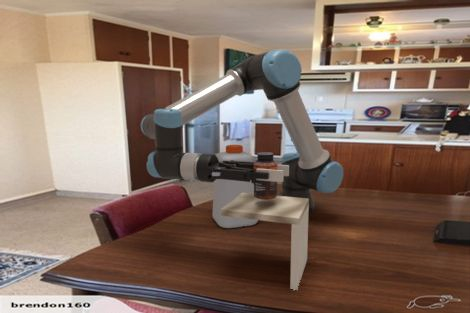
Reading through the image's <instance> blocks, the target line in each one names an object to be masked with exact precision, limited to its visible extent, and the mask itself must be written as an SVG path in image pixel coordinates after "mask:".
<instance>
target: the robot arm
mask: <svg viewBox="0 0 470 313" xmlns="http://www.w3.org/2000/svg"><path fill="white" fill-rule="evenodd" d="M301 77H302V64H301V61H300V60H299V58H298V57H297V55H295V53H293V52H292V51H290V50H287V49H272V50H270V51H265V52H263V53H259V54H255V55H251V56H249V57H248V58H247V59H245V60H243V61H242V62H240V63H239V64H237V65H234V66H233V67H232V68H230V69H228V70H227V71H226V72H225V75H223V76H222V77H219V78H218V79H216V80H213V81H212V82H210V83H208V84H207V85H205V86H203V87H201V88H199V89H198V90H196V91H193V92H192V93H190V94H188V95H187V96H183V97H182V98H181V99H178V100H176V101H175V102H173V103H171V104H170V105H168V106H165V107H164V108H158V109H155V110H154V111H153V113H151V114H147V115H145V116H144V117H143V118H142V119H141V121H140V130H141V132H142V133H143V135H145V137H147V138H148V139H151V140H154V143H155V150H153V151H151V152H150V153H149V155H148V156H147V161H146V170H147V172H148V174H149V175H150V176H152V177H153V178H158V179H159V178H161V179H164V180H167V179H168V180H180V181H182V180H183V181H189V182H190V183H194V181H195V182H199V181H200V182H201V183H202V182H203V183H214V181H215V180H216V179H225V180H235V181H245V182H250V181H251V183H255V178H256V180H261V181H274V182H277V183H281V190H280V193H279V195H278V196H286V197H297V198H307V199H309V212H308V214H309V213H312V212H314V210H315V201H314V197H313V195H312V191H311V190H314V191H316V192H318V193H324V194H330V193H331V194H332V193H333V192H335V191H336V190H338V188H339V187H340V185H341V184H342V181H343V179H344V168H343V166H342V164H340V162H337V161H333V159H332V157H331V154H330V152H329V151H328V150H327V149H324V148H323V146H322V144H321V142H320V139H319V137H318V135H317V133H316V130H315V127H314V125H313V122H312V120H311V118H310V116H309V113H308V111H307V109H306V106H305V103H304V101H303V98H302V97H301V95H300V92H299V90H300V87H301V82H300V80H301ZM261 90H262V91H263V93H264V94H265V97H266V99H267V100H268V101H270V102H273V103H274V105H275V107H276V110H277V111H278V113H279V116H280V118H281V120H282V123H283V125H284V127H285V129H286V131H287V133H288V136H289V138H290V141H291V142H292V144H293V146H294V148H295V151H296V152H287V153H284V154H283V155H282V157H281V158H282V159H281V164H277V170H271V169H256V172H255V170H254V163H255V162H256V161H254V162H245V161H233V160H231V161H223V162H219V161H218V158H217V156H216V154H215V153H210V154H209V153H200V152H184V148H183V146H184V144H183V140H184V139H183V126H184V125H187V124H188V123H190V122H192V121H193V120H196V119H197V118H198V117H200V116H202V115H204V114H205V113H208V112H209V111H210V110H212V109H214V108H215V107H218V106H220V105H221V104H223V103H225V102H226V101H228V100H230V99H232V98H233V97H235V96H239V97H241V96H242V95H245V94H246V93H250V92H253V91H261Z"/></svg>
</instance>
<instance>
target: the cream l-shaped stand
mask: <svg viewBox="0 0 470 313" xmlns="http://www.w3.org/2000/svg"><path fill="white" fill-rule="evenodd" d="M308 212H309V199H307V198H297V197H286V196H279V195H277V197H276V198H274V199H270V200H262V199H258V198H255V197H254V194H253V193H241V194H240V195H239V196H237V197H236V198H235V199H234V200H232V201H231V202H230V203H229V204H227V205H226V206H225V207H224V208H222V209H221V216H229V217H237V218H246V219H254V220H258V221H264V222H272V223H279V224H287V225H291V230H290V232H291V239H290V240H291V242H290V279H289V280H290V283H289V284H290V286H289V287H290V288H289V289H293V290H292V291H295V290H297V291H298V290H299V287H298V286H300V284H301V281H300V280H302V277H303V273H304V270H305V267H306V265H307V261H308V243H309V242H308V240H309V239H308V237H309V213H310V212H309V213H308ZM299 283H300V284H299Z"/></svg>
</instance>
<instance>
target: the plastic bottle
mask: <svg viewBox="0 0 470 313" xmlns="http://www.w3.org/2000/svg"><path fill="white" fill-rule="evenodd" d="M243 147H244V146H243V145H242V144H228V145H226V146H225V151H220V152H218V153H216V154H215V155H216V156H217V158H218V161H219V162H223V161H231V160H233V161H245V162H255V157H254V155H253V154H251V153H249V152H246V151H244V148H243ZM241 193H253V194H254V183H251V181H250V182H245V181H235V180H225V179H216V180H215V181H214V182H213V195H212V196H213V198H212V218H213V220H214V221H215V222H216V224H217V225H218V227H220V228H224V229H234V228H242V227H243V226H244V227H250V226H254V225H256V224H257V223H258V222H259V220H254V219H246V218H237V217H229V216H221V209H222V208H224V207H225V206H226V205H227V204H229V203H230V202H231V201H232V200H234V199H235V198H236V197H237V196H239V195H240V194H241Z"/></svg>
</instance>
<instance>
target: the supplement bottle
mask: <svg viewBox="0 0 470 313" xmlns="http://www.w3.org/2000/svg"><path fill="white" fill-rule="evenodd" d="M256 156H257V159H256V161H254V162H255V163H254V170H255V172H256V169H271V170H277V165H278V162H276V161H274V153H273V152H268V151H266V152H265V151H263V152H257V154H256ZM277 196H278V182H274V181H261V180H256V178H255V183H254V197H255V198H258V199H262V200H270V199H274V198H276V197H277Z"/></svg>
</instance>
